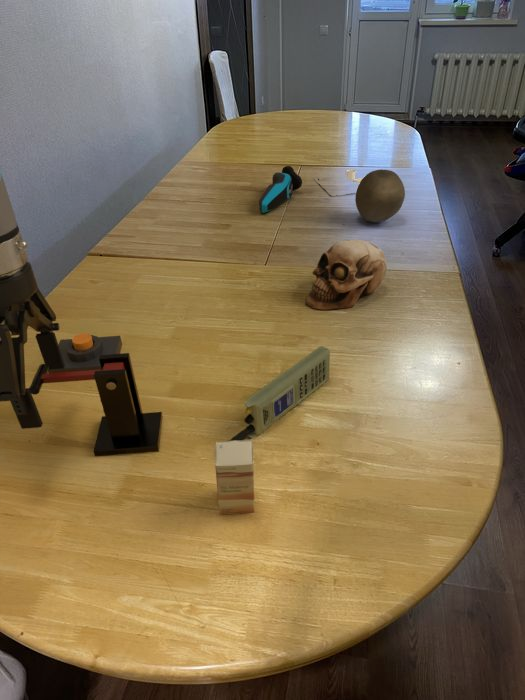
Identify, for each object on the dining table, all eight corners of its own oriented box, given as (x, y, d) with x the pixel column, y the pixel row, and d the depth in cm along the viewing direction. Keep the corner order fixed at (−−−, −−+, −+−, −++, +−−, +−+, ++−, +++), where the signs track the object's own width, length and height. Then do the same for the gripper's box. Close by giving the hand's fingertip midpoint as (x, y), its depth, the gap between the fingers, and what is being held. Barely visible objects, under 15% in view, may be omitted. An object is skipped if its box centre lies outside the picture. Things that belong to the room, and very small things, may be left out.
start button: (72, 352, 98) (70, 344, 97) (76, 341, 101) (74, 333, 100) (91, 350, 98) (89, 343, 97) (95, 340, 101) (93, 332, 100)
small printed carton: (219, 515, 71) (212, 466, 65) (219, 490, 75) (213, 441, 69) (256, 513, 71) (253, 463, 65) (255, 488, 75) (252, 438, 69)
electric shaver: (280, 187, 182) (306, 191, 179) (245, 218, 166) (273, 224, 162) (279, 162, 177) (306, 166, 173) (243, 193, 160) (272, 197, 156)
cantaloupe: (348, 227, 152) (352, 176, 143) (359, 211, 162) (363, 162, 154) (397, 233, 147) (404, 180, 139) (404, 215, 158) (411, 165, 149)
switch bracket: (94, 456, 81) (71, 383, 72) (103, 421, 87) (82, 350, 79) (158, 451, 81) (143, 378, 73) (162, 416, 88) (148, 345, 79)
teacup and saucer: (366, 185, 182) (367, 173, 180) (344, 187, 181) (345, 175, 179) (357, 177, 189) (358, 166, 187) (336, 179, 188) (337, 168, 186)
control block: (50, 379, 97) (44, 362, 95) (63, 348, 106) (58, 332, 103) (114, 374, 98) (110, 357, 96) (122, 344, 106) (118, 328, 104)
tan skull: (300, 306, 116) (305, 248, 109) (323, 279, 130) (329, 227, 123) (369, 321, 111) (379, 262, 104) (385, 291, 125) (395, 238, 118)
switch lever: (31, 397, 75) (26, 384, 73) (41, 374, 79) (37, 361, 78) (122, 390, 75) (119, 377, 74) (127, 367, 80) (124, 355, 78)
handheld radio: (332, 380, 94) (235, 458, 80) (318, 374, 96) (221, 448, 82) (333, 350, 91) (231, 426, 76) (318, 344, 93) (216, 416, 78)
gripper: (-5, 316, 56) (49, 453, 68) (53, 228, 76) (86, 346, 88) (-76, 321, 55) (-9, 458, 68) (1, 231, 76) (41, 349, 88)
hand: (45, 395), depth 78 cm, fingers open, 13 cm apart
